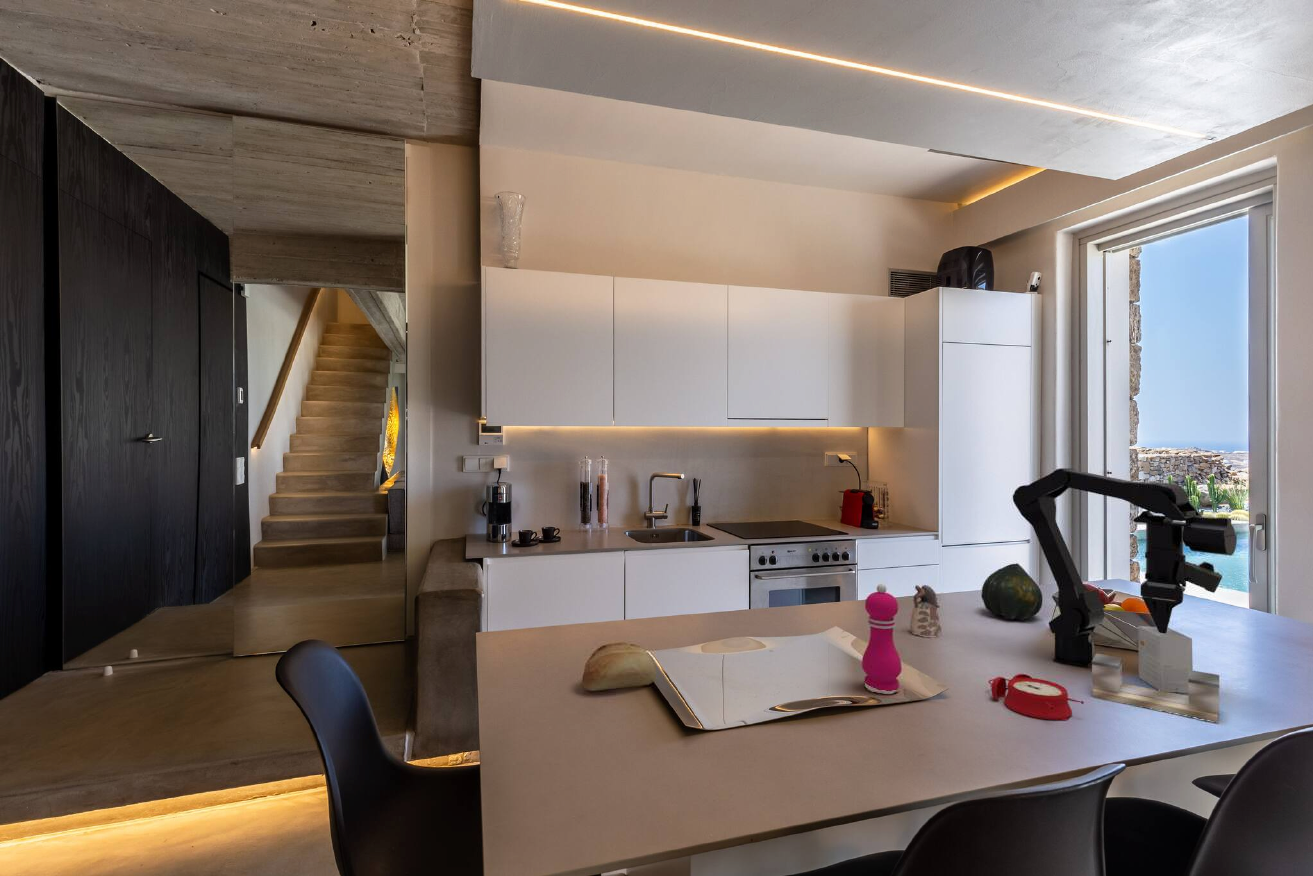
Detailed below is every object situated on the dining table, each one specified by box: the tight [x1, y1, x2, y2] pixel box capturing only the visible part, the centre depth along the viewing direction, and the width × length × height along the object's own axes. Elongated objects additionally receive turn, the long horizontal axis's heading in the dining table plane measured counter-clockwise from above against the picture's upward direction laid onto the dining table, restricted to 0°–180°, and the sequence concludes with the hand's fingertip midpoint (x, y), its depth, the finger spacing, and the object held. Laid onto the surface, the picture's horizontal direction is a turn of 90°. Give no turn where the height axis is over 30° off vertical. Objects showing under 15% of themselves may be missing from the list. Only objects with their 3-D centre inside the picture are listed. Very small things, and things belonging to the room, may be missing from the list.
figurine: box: [909, 584, 942, 636], centre depth 161 cm, size 7×7×12 cm
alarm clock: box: [987, 673, 1084, 722], centre depth 117 cm, size 10×6×15 cm
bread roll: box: [581, 641, 657, 692], centre depth 126 cm, size 10×15×8 cm, turn 117°
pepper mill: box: [861, 583, 903, 691], centre depth 125 cm, size 7×7×20 cm
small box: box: [1137, 625, 1194, 694], centre depth 127 cm, size 8×6×10 cm
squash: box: [981, 563, 1043, 621], centre depth 178 cm, size 14×15×15 cm
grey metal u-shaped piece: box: [1091, 653, 1220, 724], centre depth 118 cm, size 18×8×6 cm, turn 49°
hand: (1164, 627), depth 127 cm, fingers open, 9 cm apart
